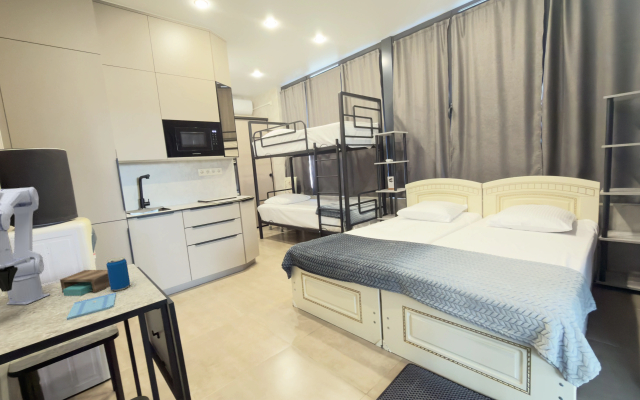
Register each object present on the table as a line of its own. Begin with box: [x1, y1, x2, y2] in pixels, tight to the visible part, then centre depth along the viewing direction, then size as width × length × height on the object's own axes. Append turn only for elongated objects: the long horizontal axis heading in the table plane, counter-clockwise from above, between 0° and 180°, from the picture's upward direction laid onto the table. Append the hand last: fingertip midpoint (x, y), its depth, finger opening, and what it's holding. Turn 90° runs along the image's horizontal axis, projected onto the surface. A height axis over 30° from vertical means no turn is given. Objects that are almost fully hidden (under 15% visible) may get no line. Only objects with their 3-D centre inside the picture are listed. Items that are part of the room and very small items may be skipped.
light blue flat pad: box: [66, 292, 117, 321], centre depth 97 cm, size 14×12×1 cm
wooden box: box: [59, 269, 110, 294], centre depth 114 cm, size 16×10×6 cm, turn 81°
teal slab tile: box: [63, 282, 93, 297], centre depth 112 cm, size 8×10×3 cm
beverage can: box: [105, 256, 131, 292], centre depth 110 cm, size 6×6×12 cm
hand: (6, 290), depth 92 cm, fingers closed
